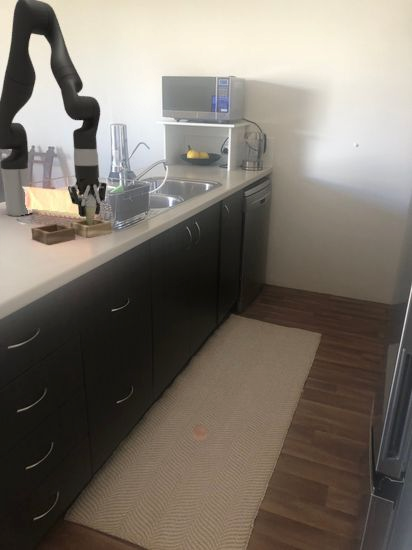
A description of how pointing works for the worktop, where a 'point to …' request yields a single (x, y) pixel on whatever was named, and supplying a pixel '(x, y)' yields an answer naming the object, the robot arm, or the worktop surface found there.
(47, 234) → the walnut holder
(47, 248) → the worktop surface
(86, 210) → the ice cream cone
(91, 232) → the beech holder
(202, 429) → the pale pink round disc
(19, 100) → the robot arm
